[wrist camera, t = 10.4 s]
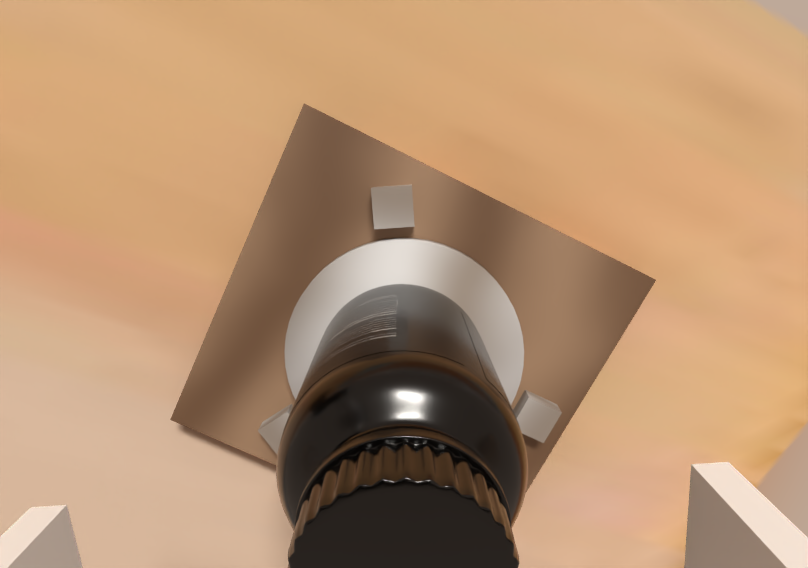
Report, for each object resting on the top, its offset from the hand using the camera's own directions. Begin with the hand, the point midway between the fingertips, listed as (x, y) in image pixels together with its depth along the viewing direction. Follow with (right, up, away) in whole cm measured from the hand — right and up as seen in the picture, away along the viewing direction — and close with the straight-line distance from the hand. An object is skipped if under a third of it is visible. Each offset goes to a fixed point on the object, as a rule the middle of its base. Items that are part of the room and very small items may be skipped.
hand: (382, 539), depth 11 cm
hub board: (+1, +3, +13) cm, 13 cm away
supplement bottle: (0, +2, +11) cm, 11 cm away
